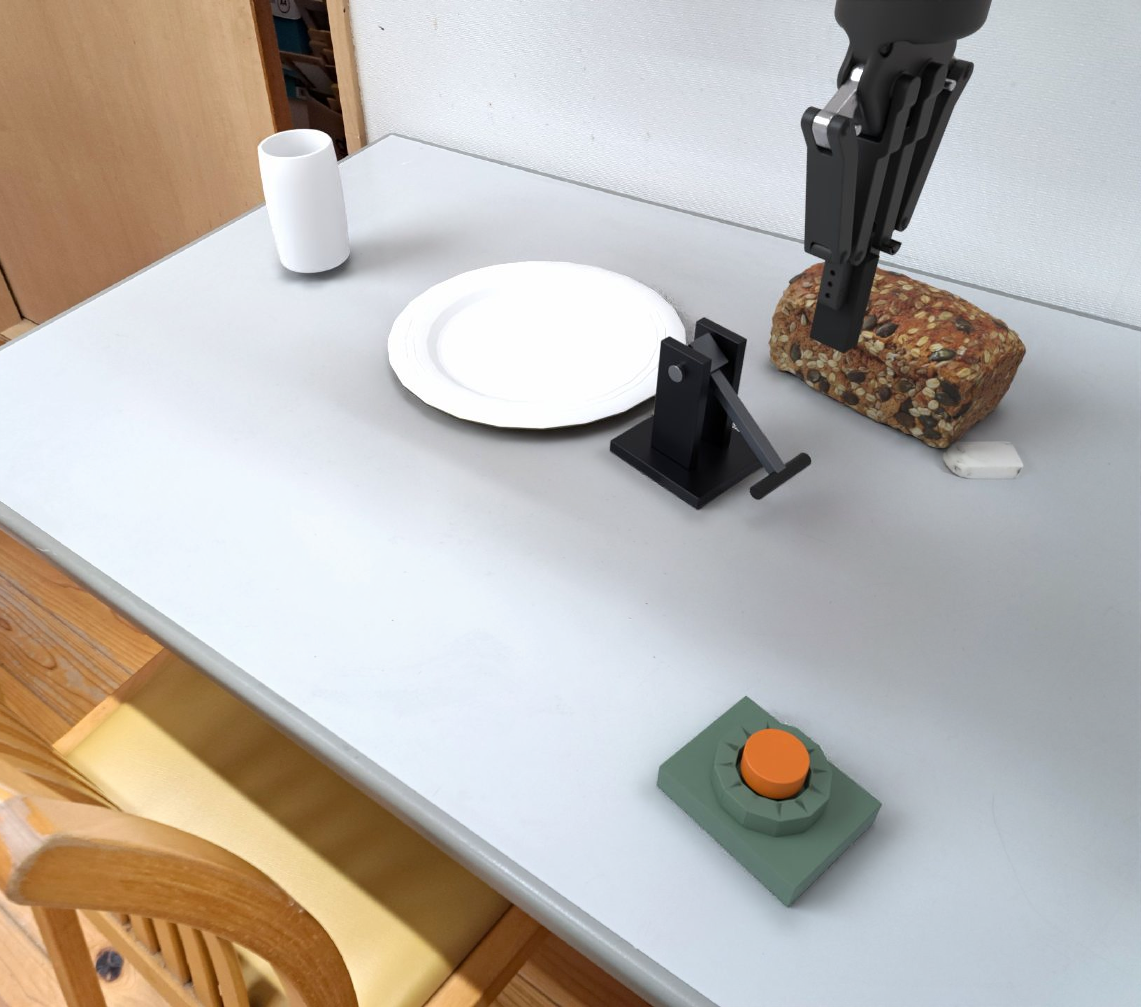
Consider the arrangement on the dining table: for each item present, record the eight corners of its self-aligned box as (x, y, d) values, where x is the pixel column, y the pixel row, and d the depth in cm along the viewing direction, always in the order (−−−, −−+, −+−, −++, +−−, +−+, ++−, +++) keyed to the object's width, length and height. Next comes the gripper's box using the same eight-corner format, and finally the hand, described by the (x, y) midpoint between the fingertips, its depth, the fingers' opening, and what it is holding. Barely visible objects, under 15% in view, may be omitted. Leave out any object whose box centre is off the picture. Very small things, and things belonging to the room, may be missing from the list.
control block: (873, 822, 57) (890, 787, 54) (787, 908, 53) (800, 874, 51) (741, 714, 63) (750, 677, 60) (656, 785, 59) (661, 749, 57)
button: (817, 774, 55) (823, 758, 54) (777, 811, 54) (782, 795, 53) (767, 734, 57) (772, 717, 56) (727, 768, 56) (731, 752, 55)
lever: (800, 470, 76) (819, 460, 74) (750, 504, 74) (769, 494, 72) (709, 336, 78) (725, 322, 75) (657, 365, 75) (672, 352, 73)
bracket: (769, 461, 81) (794, 343, 73) (697, 510, 77) (714, 391, 69) (680, 408, 87) (694, 293, 79) (609, 450, 83) (616, 335, 75)
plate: (745, 341, 94) (748, 324, 93) (546, 489, 80) (546, 472, 78) (527, 248, 110) (527, 233, 109) (329, 358, 96) (326, 342, 94)
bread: (759, 368, 91) (776, 273, 84) (828, 325, 95) (849, 232, 88) (941, 461, 80) (978, 362, 73) (1008, 408, 84) (1049, 309, 77)
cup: (268, 262, 111) (241, 141, 101) (332, 240, 114) (313, 120, 104) (299, 292, 106) (274, 167, 96) (366, 268, 109) (349, 145, 99)
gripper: (932, -92, 53) (844, 286, 69) (781, -44, 48) (724, 355, 63) (1066, -74, 49) (940, 326, 64) (917, -18, 43) (819, 405, 59)
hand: (833, 340), depth 64 cm, fingers closed
